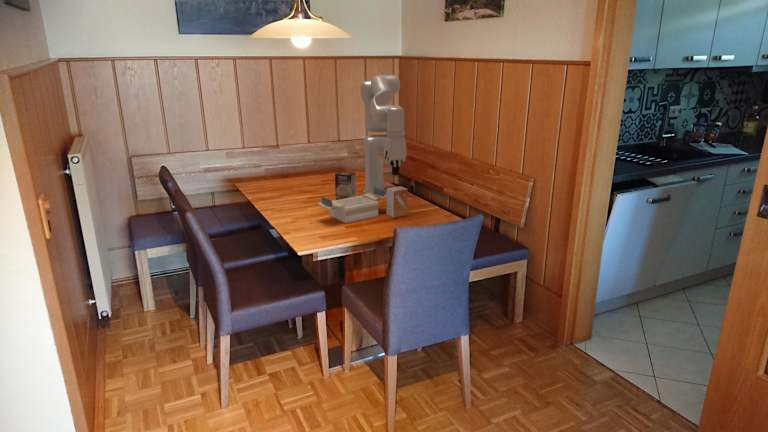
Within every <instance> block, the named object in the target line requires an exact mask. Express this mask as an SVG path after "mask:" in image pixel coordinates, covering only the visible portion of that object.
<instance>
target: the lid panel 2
mask: <svg viewBox="0 0 768 432" xmlns="http://www.w3.org/2000/svg"><path fill="white" fill-rule="evenodd" d="M385 190H386V189H385ZM385 190H382V189H379V188H376V187H373V192H372V193H367V194H365V193H362V194H361V196H364V197H367V198H369V199H372V200H375V201H380V200H385V199H387V194H385V193H386V192H385Z"/></svg>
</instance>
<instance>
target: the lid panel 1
mask: <svg viewBox="0 0 768 432" xmlns="http://www.w3.org/2000/svg"><path fill="white" fill-rule="evenodd" d="M320 198H321V201H320V202H315V203H316V204H315V205H316V206H319V207H321V208H324V209H326V210H328V211H330V209H335V208H340V207H345V205H343V204H341V203H338V202H336V200H334V199H330V198H327V197H325V196H321V197H320Z"/></svg>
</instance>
